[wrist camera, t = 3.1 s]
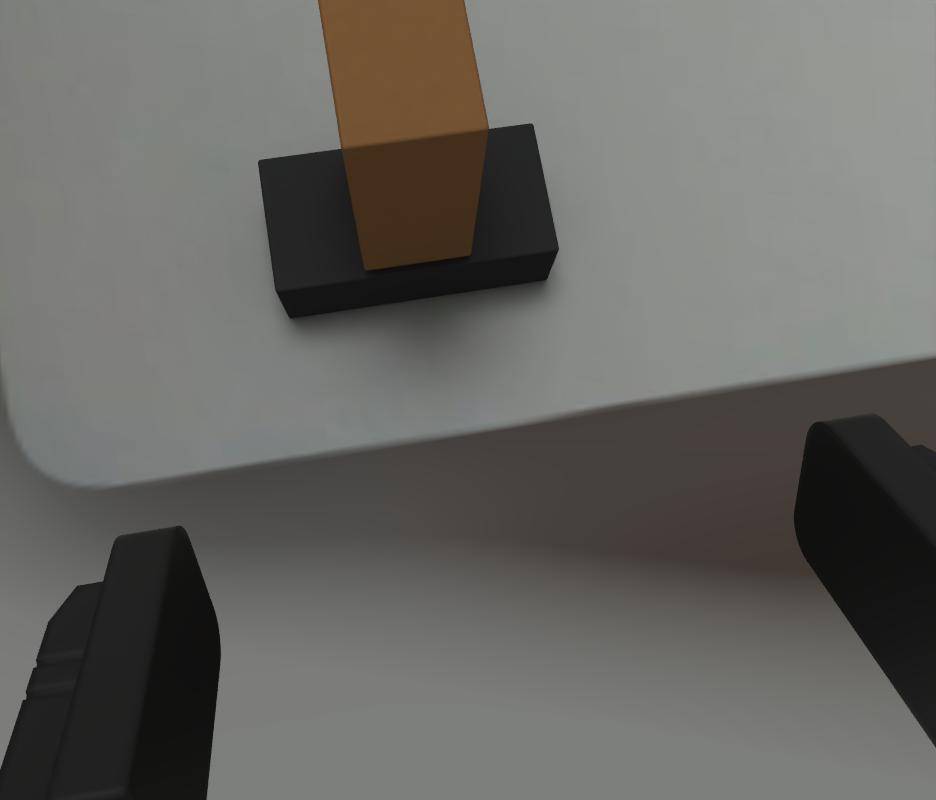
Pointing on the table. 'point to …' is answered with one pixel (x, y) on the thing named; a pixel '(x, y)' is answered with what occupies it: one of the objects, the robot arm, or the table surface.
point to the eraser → (405, 172)
